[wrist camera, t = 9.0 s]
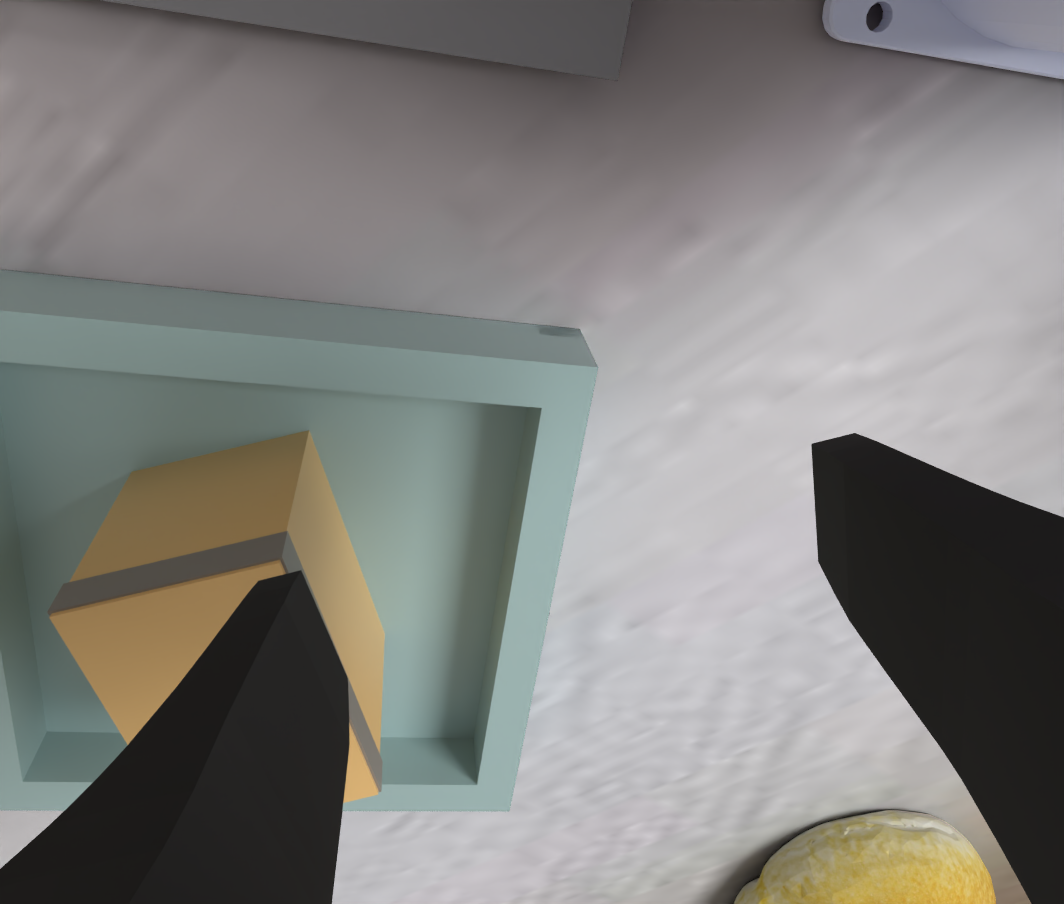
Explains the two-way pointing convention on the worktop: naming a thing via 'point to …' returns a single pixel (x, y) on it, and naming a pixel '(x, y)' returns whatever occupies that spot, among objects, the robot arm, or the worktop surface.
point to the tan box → (219, 582)
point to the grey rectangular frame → (449, 27)
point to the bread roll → (874, 864)
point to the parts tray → (354, 477)
